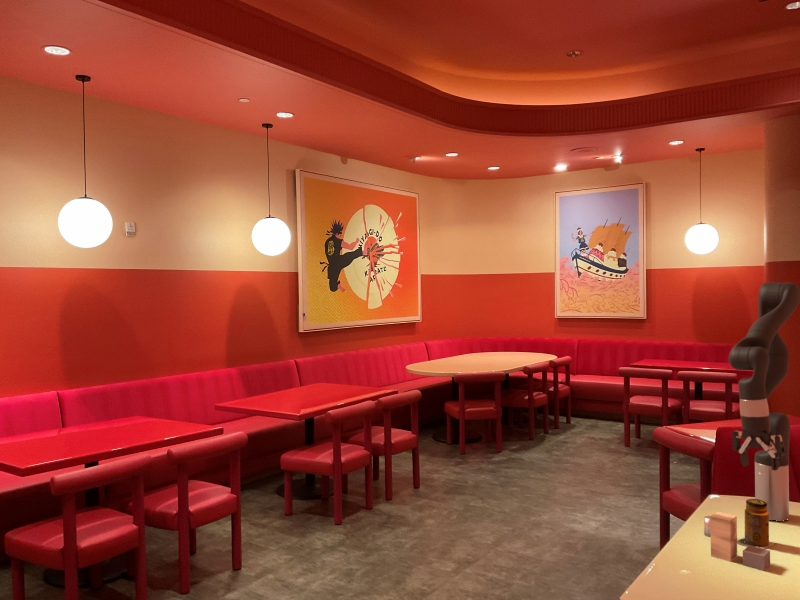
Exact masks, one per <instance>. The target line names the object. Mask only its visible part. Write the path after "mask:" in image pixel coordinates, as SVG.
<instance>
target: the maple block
mask: <svg viewBox="0 0 800 600" xmlns="http://www.w3.org/2000/svg"><path fill="white" fill-rule="evenodd" d="M709 516H710V527H711V537H710V557H713V558H716V559H719V560H723V561H727V562H730V563H731V562H732V561H733V560H735V559H736V558H737V557H738V543H737V541H738V525H737V524H738V523H737V517H738V516H737V515H734V514H730V513H725V512H720V511H716V512H714V513H713V514H711V515H709Z"/></svg>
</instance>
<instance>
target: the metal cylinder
mask: <svg viewBox="0 0 800 600" xmlns="http://www.w3.org/2000/svg"><path fill="white" fill-rule="evenodd" d="M710 516H711V515H706V516H704V517H703V531H704V532H703V535H704V536H705V537H708V538H711V527H710Z"/></svg>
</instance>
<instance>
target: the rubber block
mask: <svg viewBox="0 0 800 600" xmlns="http://www.w3.org/2000/svg"><path fill="white" fill-rule="evenodd" d="M742 566H744V567H747V568H751V569H755V570H758V571H760V572H761V571H762V572H765V571H766V570H768V568H769V567H770V566H771V550H770V549H766V548H765V549H762V548H758V547H754V546H750V545H749V546H748V547H745V549H743V550H742Z"/></svg>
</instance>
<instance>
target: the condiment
mask: <svg viewBox="0 0 800 600" xmlns="http://www.w3.org/2000/svg"><path fill="white" fill-rule="evenodd" d="M745 504H746V505H745V509H744V537H743V538H740V539H737V545H741V546H744V547H745V548H747V547H748V546H749V545H750V546H754V547H758V548H762V549H766V548H770V547H772V546H774V545H776V542H771V541H770V526H769V525H770V524H769V523H770V521H769V513H768V511H767V503H766V502H765V501H763V500H759V499H755V498H748V499H746V501H745Z"/></svg>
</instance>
